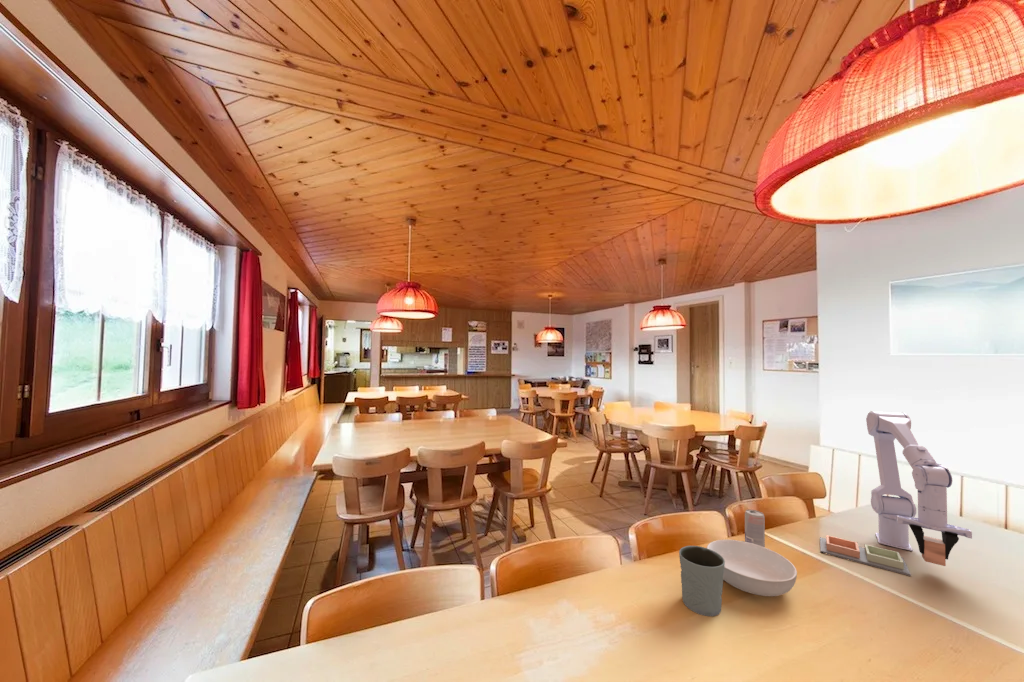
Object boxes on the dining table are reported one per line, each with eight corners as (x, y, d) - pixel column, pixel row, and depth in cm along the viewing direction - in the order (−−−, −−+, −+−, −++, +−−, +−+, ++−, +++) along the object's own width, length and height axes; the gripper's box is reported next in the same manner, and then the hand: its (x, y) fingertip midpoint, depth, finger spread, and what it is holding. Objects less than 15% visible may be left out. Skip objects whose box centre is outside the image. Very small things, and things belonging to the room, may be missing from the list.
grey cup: (720, 597, 96) (720, 549, 97) (729, 624, 87) (729, 570, 87) (677, 588, 99) (677, 542, 100) (680, 613, 90) (681, 561, 90)
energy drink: (758, 547, 123) (758, 509, 124) (768, 555, 118) (768, 516, 118) (741, 546, 124) (741, 508, 124) (750, 554, 118) (750, 515, 119)
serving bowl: (697, 584, 102) (697, 558, 102) (716, 555, 118) (716, 532, 118) (793, 621, 88) (793, 591, 88) (800, 582, 104) (799, 556, 104)
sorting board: (820, 538, 130) (819, 531, 130) (902, 559, 118) (902, 550, 118) (820, 552, 121) (820, 544, 121) (910, 576, 108) (910, 566, 108)
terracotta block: (921, 555, 112) (921, 535, 113) (941, 560, 110) (941, 539, 110) (924, 561, 109) (924, 540, 110) (945, 566, 107) (945, 544, 107)
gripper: (899, 505, 112) (900, 551, 111) (975, 519, 103) (976, 570, 102) (895, 498, 117) (896, 543, 117) (966, 511, 108) (968, 559, 108)
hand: (933, 555), depth 110 cm, fingers closed on terracotta block, 4 cm apart
